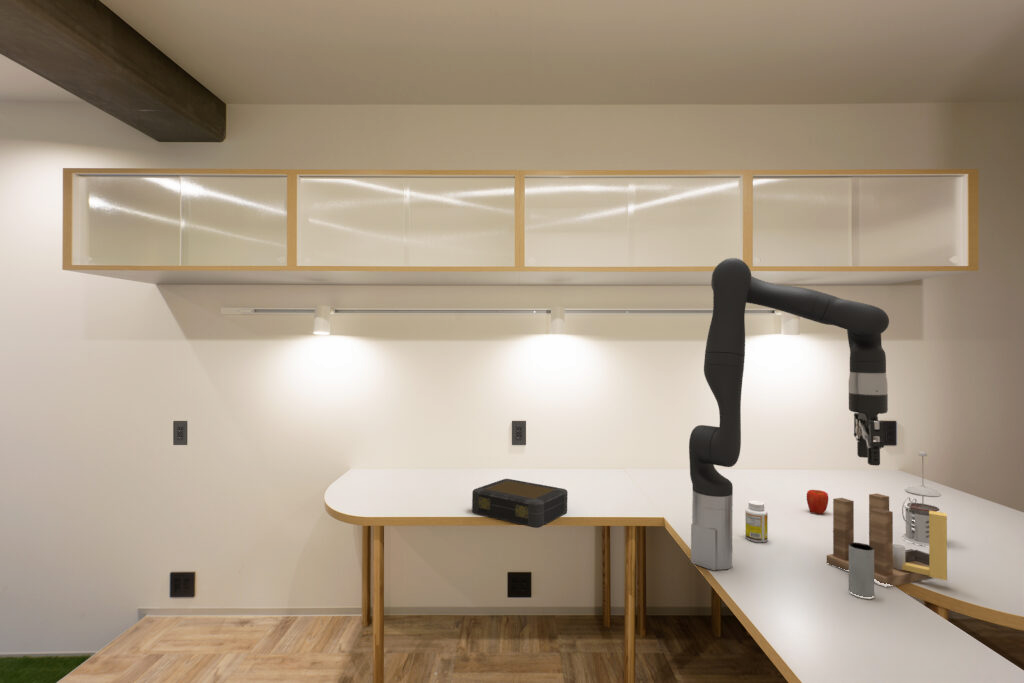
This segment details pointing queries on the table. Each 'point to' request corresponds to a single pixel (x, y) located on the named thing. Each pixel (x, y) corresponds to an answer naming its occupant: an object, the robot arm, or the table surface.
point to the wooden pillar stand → (873, 541)
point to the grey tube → (861, 569)
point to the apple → (817, 501)
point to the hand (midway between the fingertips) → (868, 460)
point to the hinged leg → (935, 550)
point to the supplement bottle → (756, 522)
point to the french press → (919, 513)
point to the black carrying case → (520, 502)
